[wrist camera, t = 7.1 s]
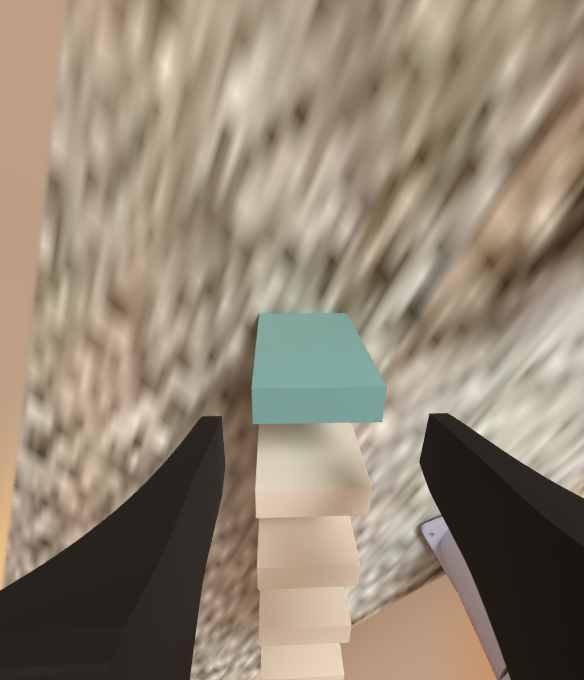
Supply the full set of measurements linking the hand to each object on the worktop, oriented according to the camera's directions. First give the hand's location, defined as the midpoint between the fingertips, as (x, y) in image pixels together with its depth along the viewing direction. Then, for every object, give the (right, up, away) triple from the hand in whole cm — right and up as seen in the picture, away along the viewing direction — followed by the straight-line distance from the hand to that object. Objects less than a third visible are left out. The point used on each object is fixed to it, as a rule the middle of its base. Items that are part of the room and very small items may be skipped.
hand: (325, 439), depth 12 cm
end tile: (0, +4, +9) cm, 10 cm away
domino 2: (-1, -5, +13) cm, 14 cm away
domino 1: (-1, -1, +11) cm, 11 cm away
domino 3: (-1, -10, +15) cm, 18 cm away
